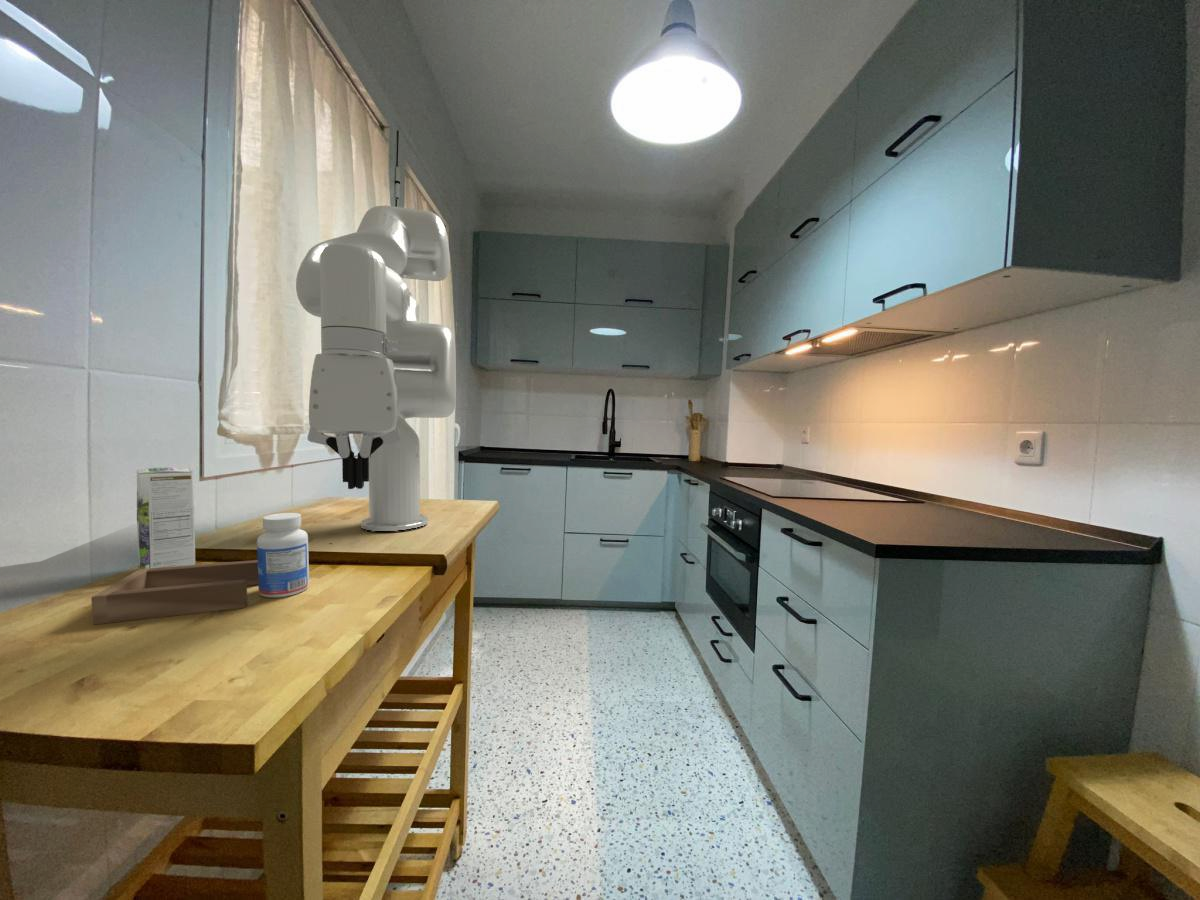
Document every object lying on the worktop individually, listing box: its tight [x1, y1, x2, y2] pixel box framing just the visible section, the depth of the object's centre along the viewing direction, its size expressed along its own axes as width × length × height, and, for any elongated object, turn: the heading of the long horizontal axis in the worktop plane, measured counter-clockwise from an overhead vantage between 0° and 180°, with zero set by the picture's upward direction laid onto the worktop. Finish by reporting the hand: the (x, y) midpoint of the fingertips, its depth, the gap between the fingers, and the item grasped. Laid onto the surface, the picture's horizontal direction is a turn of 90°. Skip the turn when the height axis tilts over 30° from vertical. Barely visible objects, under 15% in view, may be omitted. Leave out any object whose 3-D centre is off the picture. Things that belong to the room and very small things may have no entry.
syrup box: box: [136, 466, 196, 570], centre depth 66 cm, size 6×6×14 cm
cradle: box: [90, 559, 258, 625], centre depth 56 cm, size 9×13×3 cm
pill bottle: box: [256, 512, 310, 599], centre depth 60 cm, size 6×5×10 cm
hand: (356, 487), depth 62 cm, fingers closed
